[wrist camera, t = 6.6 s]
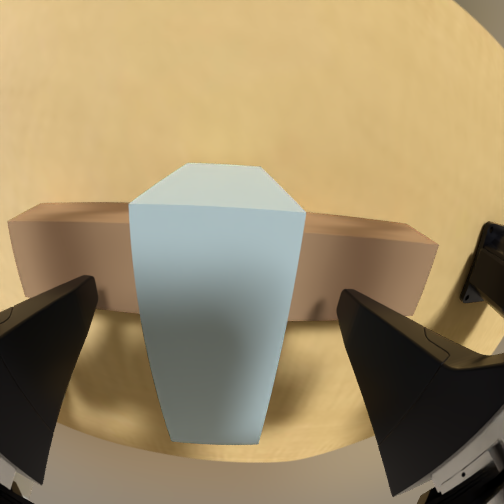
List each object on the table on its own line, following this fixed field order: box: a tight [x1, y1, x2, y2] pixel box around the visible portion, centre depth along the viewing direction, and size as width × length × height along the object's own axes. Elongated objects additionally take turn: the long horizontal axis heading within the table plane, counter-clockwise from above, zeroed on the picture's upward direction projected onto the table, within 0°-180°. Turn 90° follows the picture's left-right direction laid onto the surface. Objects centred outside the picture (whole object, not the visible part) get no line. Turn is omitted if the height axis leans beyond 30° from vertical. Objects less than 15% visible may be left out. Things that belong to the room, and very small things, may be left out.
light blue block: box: [129, 163, 306, 445], centre depth 9 cm, size 3×8×7 cm, turn 175°
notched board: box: [8, 202, 439, 321], centre depth 12 cm, size 20×4×3 cm, turn 85°
